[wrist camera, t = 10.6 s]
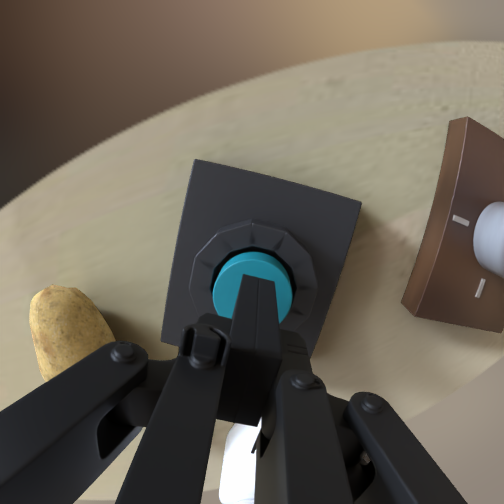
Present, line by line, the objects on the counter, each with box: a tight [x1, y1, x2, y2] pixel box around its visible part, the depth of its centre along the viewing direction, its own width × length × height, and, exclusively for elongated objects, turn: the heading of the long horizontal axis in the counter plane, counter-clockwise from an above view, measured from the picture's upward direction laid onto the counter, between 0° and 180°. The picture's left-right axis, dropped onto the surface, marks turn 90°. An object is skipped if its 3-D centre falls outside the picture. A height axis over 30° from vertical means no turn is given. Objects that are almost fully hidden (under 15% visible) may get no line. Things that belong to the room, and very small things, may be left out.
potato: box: [30, 285, 116, 382], centre depth 20 cm, size 7×11×6 cm, turn 12°
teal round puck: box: [213, 251, 292, 324], centre depth 17 cm, size 4×4×2 cm
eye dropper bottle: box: [219, 419, 261, 504], centre depth 18 cm, size 4×6×12 cm
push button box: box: [161, 159, 362, 359], centre depth 19 cm, size 12×10×4 cm
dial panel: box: [401, 117, 504, 333], centre depth 18 cm, size 14×10×3 cm
